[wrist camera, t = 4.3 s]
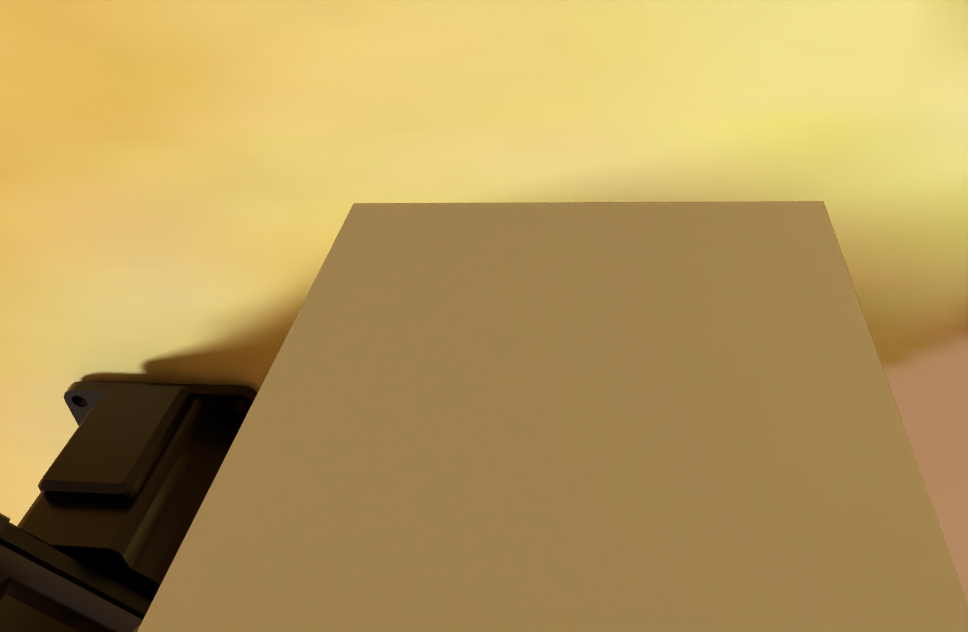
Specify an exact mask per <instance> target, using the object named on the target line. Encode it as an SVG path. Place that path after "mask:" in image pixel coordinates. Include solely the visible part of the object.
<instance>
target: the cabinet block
mask: <svg viewBox="0 0 968 632" xmlns="http://www.w3.org/2000/svg"><path fill="white" fill-rule="evenodd" d="M137 632H968V604H967V601H966V598H965V595H964V593H963V590H962V587H961V584H960V582H959V579H958V576H957V573H956V570H955V568H954V565H953V562H952V559H951V557H950V554H949V551H948V548H947V545H946V542H945V540H944V537H943V534H942V531H941V528H940V526H939V523H938V520H937V517H936V514H935V512H934V509H933V506H932V503H931V500H930V498H929V495H928V492H927V490H926V487H925V484H924V481H923V478H922V476H921V473H920V470H919V467H918V464H917V461H916V459H915V456H914V453H913V450H912V448H911V445H910V442H909V439H908V436H907V434H906V431H905V428H904V425H903V422H902V420H901V417H900V414H899V411H898V409H897V406H896V403H895V400H894V397H893V395H892V392H891V389H890V386H889V383H888V381H887V378H886V375H885V372H884V369H883V367H882V364H881V361H880V358H879V355H878V353H877V350H876V347H875V344H874V342H873V339H872V336H871V333H870V330H869V328H868V325H867V322H866V319H865V316H864V314H863V311H862V308H861V305H860V303H859V300H858V297H857V294H856V291H855V289H854V286H853V283H852V280H851V277H850V275H849V272H848V269H847V266H846V263H845V261H844V258H843V255H842V252H841V250H840V247H839V244H838V241H837V238H836V236H835V233H834V230H833V227H832V224H831V222H830V219H829V216H828V213H827V211H826V208H825V205H824V202H823V201H809V202H584V203H358V204H353V206H352V208H351V210H350V212H349V214H348V216H347V218H346V220H345V222H344V224H343V226H342V228H341V229H340V231H339V233H338V235H337V237H336V239H335V241H334V243H333V245H332V247H331V249H330V251H329V253H328V255H327V257H326V259H325V261H324V263H323V265H322V267H321V269H320V271H319V273H318V275H317V277H316V279H315V281H314V283H313V285H312V287H311V289H310V291H309V293H308V295H307V297H306V299H305V301H304V303H303V305H302V307H301V309H300V311H299V313H298V315H297V317H296V318H295V320H294V322H293V324H292V326H291V328H290V330H289V332H288V334H287V336H286V338H285V340H284V342H283V344H282V346H281V348H280V350H279V352H278V354H277V356H276V358H275V360H274V362H273V364H272V366H271V368H270V370H269V372H268V374H267V376H266V378H265V380H264V382H263V384H262V386H261V388H260V390H259V392H258V394H257V396H256V398H255V400H254V402H253V404H252V405H251V407H250V409H249V411H248V413H247V415H246V417H245V419H244V421H243V423H242V425H241V427H240V429H239V431H238V433H237V435H236V437H235V439H234V441H233V443H232V445H231V447H230V449H229V451H228V453H227V455H226V457H225V459H224V461H223V463H222V465H221V467H220V469H219V471H218V473H217V475H216V477H215V479H214V481H213V483H212V485H211V487H210V489H209V491H208V492H207V494H206V496H205V498H204V500H203V502H202V504H201V506H200V508H199V510H198V512H197V514H196V516H195V518H194V520H193V522H192V524H191V526H190V528H189V530H188V532H187V534H186V536H185V538H184V540H183V542H182V544H181V546H180V548H179V550H178V552H177V554H176V556H175V558H174V560H173V562H172V564H171V566H170V568H169V570H168V572H167V574H166V576H165V578H164V580H163V581H162V583H161V585H160V587H159V589H158V591H157V593H156V595H155V597H154V599H153V601H152V603H151V605H150V607H149V609H148V611H147V613H146V615H145V617H144V619H143V621H142V623H141V625H140V627H139V629H138V631H137Z"/></svg>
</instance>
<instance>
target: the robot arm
mask: <svg viewBox="0 0 968 632" xmlns="http://www.w3.org/2000/svg"><path fill="white" fill-rule="evenodd" d="M257 394H258V393H257V392H256V391H255V390H253V389H251V388H249V387H246V386H235V385H197V384H158V383H120V382H81V381H79V382H74V383H73V384H72V385H71V386H70V387H69V388H68V390H67V391H66V392H65V395H64V399H65V402H66V404H67V405H68V407H69V409H70V411H71V413H72V414H73V416H74V418H75V420H76V422H77V424H78V425H79V427H78V429H77V430H76V432H75V433H74V434H73V436H72V437H71V439H70V440H69V441H68V443H67V444H66V446H65V447H64V448H63V450H62V451H61V452H60V454H59V455H58V457H57V458H56V459H55V461H54V462H53V464H52V465H51V466H50V468H49V469H48V471H47V472H46V473H45V475H44V476H43V478H42V479H41V480H40V482H39V485H38V487H39V489H40V491H41V493H40V494H39V496H38V497H37V499H36V500H35V501H34V503H33V504H32V506H31V507H30V509H29V510H28V511H27V513H26V514H25V516H24V517H23V518H22V520H21V521H20V523H19V524H18V526H15V525H13V524H12V523H10V522H9V521H10V518H8V517H6V516H5V515H3V514H1V513H0V632H137V631H138V629H139V627H140V625H141V623H142V621H143V619H144V617H145V615H146V613H147V611H148V609H149V607H150V605H151V603H152V601H153V599H154V597H155V595H156V593H157V591H158V589H159V587H160V585H161V583H162V581H163V580H164V578H165V576H166V574H167V572H168V570H169V568H170V566H171V564H172V562H173V560H174V558H175V556H176V554H177V552H178V550H179V548H180V546H181V544H182V542H183V540H184V538H185V536H186V534H187V532H188V530H189V528H190V526H191V524H192V522H193V520H194V518H195V516H196V514H197V512H198V510H199V508H200V506H201V504H202V502H203V500H204V498H205V496H206V494H207V492H208V491H209V489H210V487H211V485H212V483H213V481H214V479H215V477H216V475H217V473H218V471H219V469H220V467H221V465H222V463H223V461H224V459H225V457H226V455H227V453H228V451H229V449H230V447H231V445H232V443H233V441H234V439H235V437H236V435H237V433H238V431H239V429H240V427H241V425H242V423H243V421H244V419H245V417H246V415H247V413H248V411H249V409H250V407H251V405H252V404H253V402H254V400H255V398H256V396H257ZM242 401H243V402H242ZM244 402H245V403H244Z"/></svg>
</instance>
